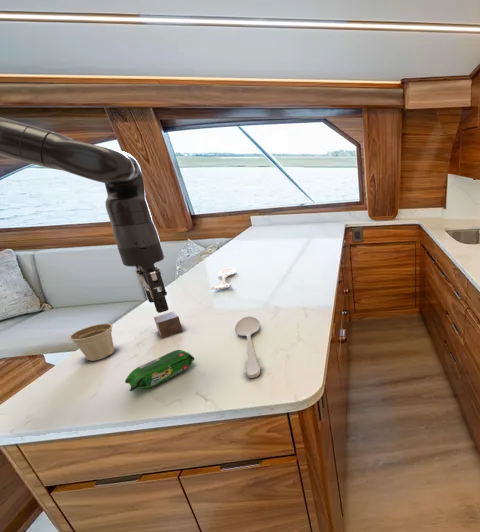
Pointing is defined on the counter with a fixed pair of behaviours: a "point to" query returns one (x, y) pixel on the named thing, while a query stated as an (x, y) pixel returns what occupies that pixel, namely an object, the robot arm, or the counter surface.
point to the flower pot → (94, 341)
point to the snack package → (159, 369)
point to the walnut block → (168, 324)
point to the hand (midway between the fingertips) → (158, 306)
